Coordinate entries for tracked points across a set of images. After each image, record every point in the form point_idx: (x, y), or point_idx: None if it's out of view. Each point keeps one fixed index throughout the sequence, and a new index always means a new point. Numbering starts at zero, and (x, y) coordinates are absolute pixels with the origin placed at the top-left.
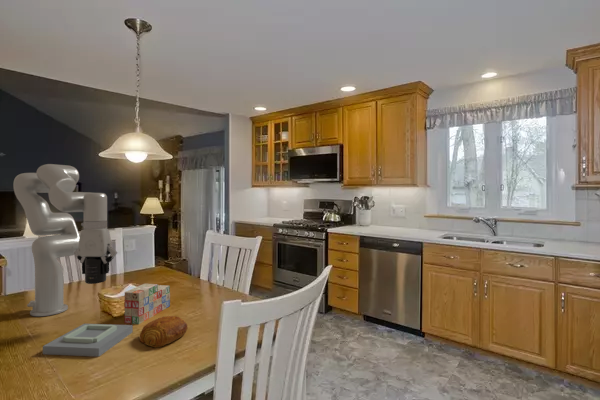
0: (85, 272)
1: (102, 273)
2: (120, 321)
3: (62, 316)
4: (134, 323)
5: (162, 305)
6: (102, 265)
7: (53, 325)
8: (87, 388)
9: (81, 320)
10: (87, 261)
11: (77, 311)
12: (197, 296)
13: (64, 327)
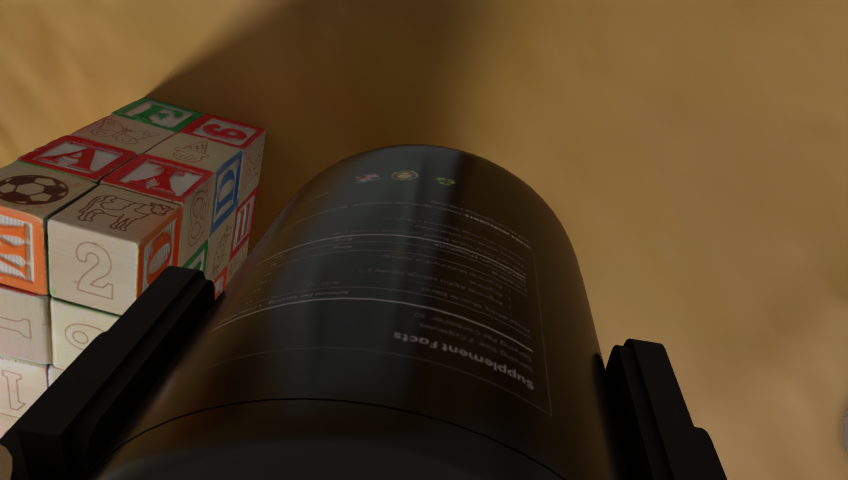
0: (549, 285)
1: (186, 274)
2: (314, 166)
3: (825, 306)
4: (177, 107)
5: None
6: (75, 394)
7: (825, 122)
8: None
9: (633, 212)
10: (454, 470)
11: (745, 391)
12: None
13: (710, 70)
